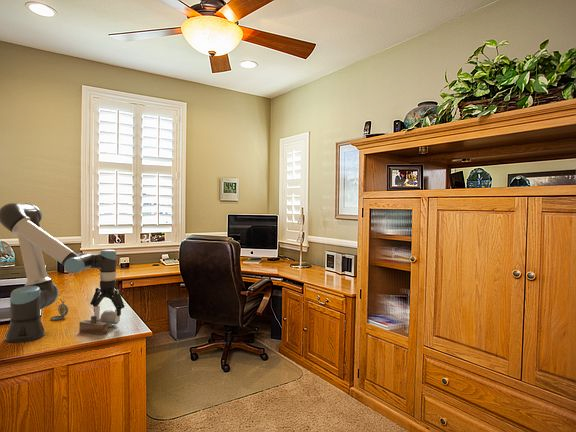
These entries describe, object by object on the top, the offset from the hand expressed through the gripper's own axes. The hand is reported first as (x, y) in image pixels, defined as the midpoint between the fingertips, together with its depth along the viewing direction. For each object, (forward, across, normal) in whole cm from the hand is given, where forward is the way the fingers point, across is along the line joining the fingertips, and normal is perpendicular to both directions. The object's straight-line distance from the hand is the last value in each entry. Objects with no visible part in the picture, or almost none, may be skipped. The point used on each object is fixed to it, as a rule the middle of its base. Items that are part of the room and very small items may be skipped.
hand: (106, 320), depth 195 cm
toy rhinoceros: (+4, +1, 0) cm, 4 cm away
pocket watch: (+4, +36, -2) cm, 36 cm away
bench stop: (+4, 0, +9) cm, 10 cm away
